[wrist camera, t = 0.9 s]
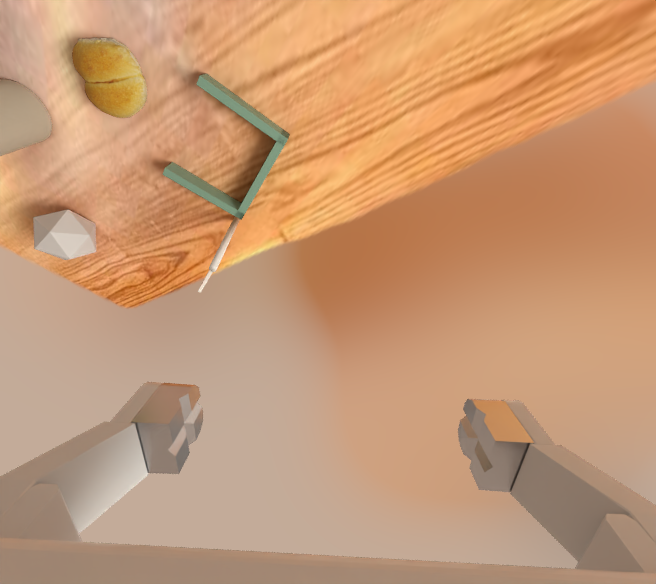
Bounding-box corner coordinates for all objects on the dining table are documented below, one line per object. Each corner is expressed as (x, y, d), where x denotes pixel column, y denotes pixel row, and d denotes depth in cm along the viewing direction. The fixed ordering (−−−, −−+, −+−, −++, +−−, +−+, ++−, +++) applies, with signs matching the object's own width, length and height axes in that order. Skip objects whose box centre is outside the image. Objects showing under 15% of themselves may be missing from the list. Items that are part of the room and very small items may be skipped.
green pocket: (206, 73, 43) (158, 86, 30) (289, 134, 48) (277, 167, 35) (157, 201, 54) (107, 249, 42) (228, 240, 59) (203, 293, 47)
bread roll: (102, 116, 46) (86, 121, 43) (71, 37, 41) (50, 37, 38) (158, 116, 46) (146, 121, 43) (135, 37, 41) (120, 37, 38)
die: (73, 191, 54) (5, 214, 48) (107, 225, 53) (43, 253, 47) (85, 221, 60) (27, 244, 55) (115, 252, 60) (60, 279, 54)
